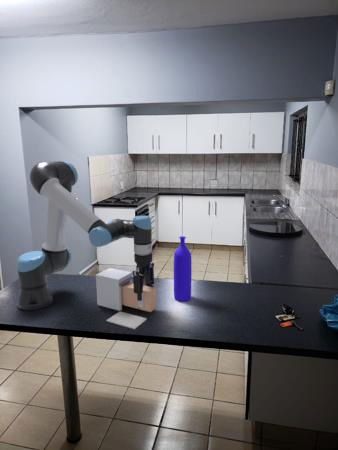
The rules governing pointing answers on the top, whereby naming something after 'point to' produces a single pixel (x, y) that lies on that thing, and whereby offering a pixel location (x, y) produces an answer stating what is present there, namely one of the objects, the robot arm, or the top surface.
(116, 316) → the pad
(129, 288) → the wooden twin blocks
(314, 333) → the top surface
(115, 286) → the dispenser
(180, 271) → the bottle
